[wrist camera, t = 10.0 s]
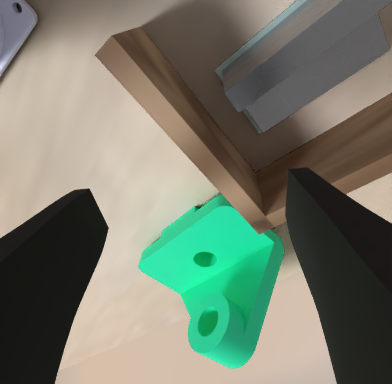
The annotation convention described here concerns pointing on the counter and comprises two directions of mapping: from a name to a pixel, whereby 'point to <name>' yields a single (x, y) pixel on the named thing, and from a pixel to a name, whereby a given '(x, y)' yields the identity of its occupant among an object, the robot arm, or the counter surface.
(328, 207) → the robot arm
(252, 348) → the camera mount
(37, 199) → the counter surface
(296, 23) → the bracket
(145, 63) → the corner walls
